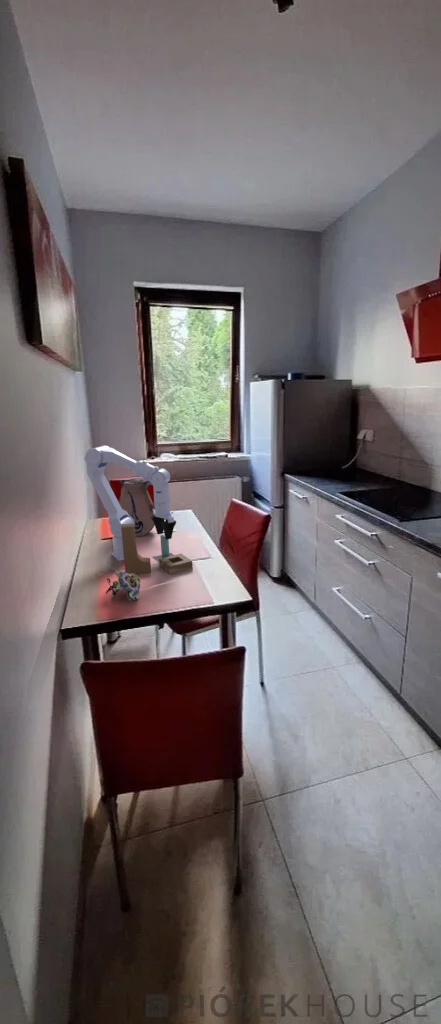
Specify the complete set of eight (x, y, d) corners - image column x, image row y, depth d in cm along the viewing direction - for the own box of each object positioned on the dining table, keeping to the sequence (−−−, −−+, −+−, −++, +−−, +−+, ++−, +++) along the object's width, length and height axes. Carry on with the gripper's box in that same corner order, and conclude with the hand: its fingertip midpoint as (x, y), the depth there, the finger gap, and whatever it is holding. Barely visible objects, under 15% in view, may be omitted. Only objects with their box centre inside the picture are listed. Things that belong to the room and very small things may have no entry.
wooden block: (150, 568, 156) (147, 522, 151) (151, 573, 152) (147, 525, 147) (125, 571, 154) (121, 524, 149) (125, 576, 150) (120, 527, 145)
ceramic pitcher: (126, 527, 205) (121, 476, 199) (168, 528, 202) (165, 476, 196) (112, 539, 189) (106, 484, 182) (158, 540, 186) (154, 484, 179)
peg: (160, 557, 165) (159, 535, 163) (167, 555, 167) (166, 534, 164) (163, 560, 163) (162, 537, 160) (170, 558, 164) (169, 536, 162)
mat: (152, 558, 166) (152, 557, 166) (170, 553, 170) (170, 552, 170) (160, 564, 160) (160, 563, 159) (179, 559, 164) (179, 558, 163)
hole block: (159, 567, 157) (159, 558, 156) (181, 562, 161) (181, 553, 160) (170, 575, 149) (169, 566, 148) (192, 569, 154) (192, 560, 153)
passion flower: (137, 615, 134) (139, 596, 125) (102, 612, 132) (102, 593, 124) (141, 583, 142) (143, 564, 133) (107, 580, 140) (108, 560, 131)
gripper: (180, 504, 155) (182, 539, 158) (163, 496, 167) (165, 529, 170) (162, 507, 151) (165, 543, 155) (146, 499, 163) (149, 532, 167)
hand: (164, 536), depth 162 cm, fingers open, 7 cm apart
